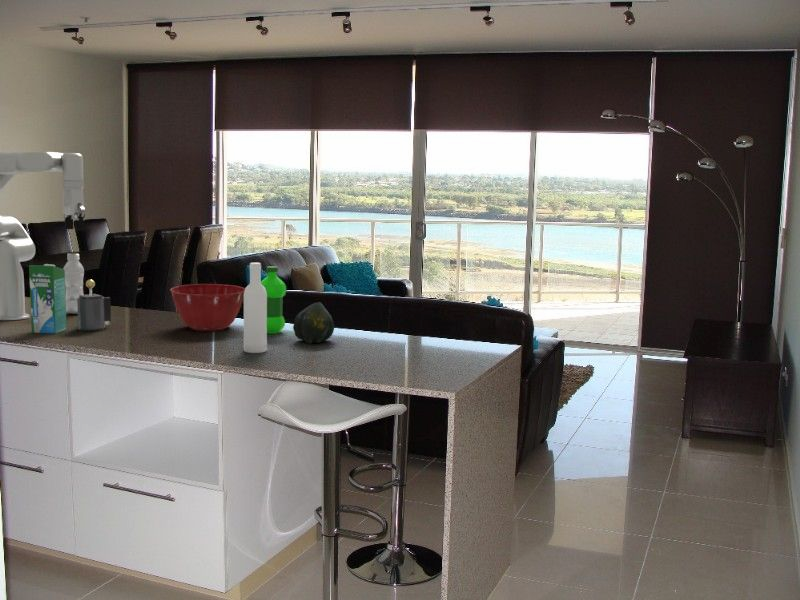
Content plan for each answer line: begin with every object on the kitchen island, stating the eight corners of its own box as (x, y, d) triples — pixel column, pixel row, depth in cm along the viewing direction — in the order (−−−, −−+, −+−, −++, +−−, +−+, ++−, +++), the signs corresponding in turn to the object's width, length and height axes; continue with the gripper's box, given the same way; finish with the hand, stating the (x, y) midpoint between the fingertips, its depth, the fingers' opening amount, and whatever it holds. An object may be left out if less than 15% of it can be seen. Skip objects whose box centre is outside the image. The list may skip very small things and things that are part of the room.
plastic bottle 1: (89, 314, 363) (87, 254, 360) (70, 316, 357) (68, 255, 353) (79, 311, 369) (78, 252, 365) (60, 313, 362) (58, 253, 359)
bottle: (256, 354, 291) (256, 264, 287) (238, 351, 295) (238, 263, 291) (271, 350, 298) (272, 263, 294) (254, 347, 302) (254, 261, 298)
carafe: (74, 328, 330) (73, 295, 328) (104, 325, 338) (103, 292, 336) (85, 332, 323) (84, 297, 321) (115, 328, 331) (115, 295, 330)
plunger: (80, 322, 329) (79, 279, 327) (95, 320, 333) (94, 278, 331) (87, 324, 325) (86, 281, 323) (102, 322, 329) (101, 279, 327)
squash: (286, 330, 306) (315, 298, 306) (285, 324, 320) (312, 294, 321) (316, 356, 308) (345, 325, 309) (314, 350, 323) (341, 320, 323)
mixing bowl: (258, 330, 334) (258, 290, 332) (186, 337, 318) (186, 295, 316) (228, 319, 357) (228, 282, 355) (160, 325, 341) (159, 286, 339)
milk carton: (66, 329, 328) (64, 263, 324) (55, 333, 319) (52, 265, 315) (43, 328, 328) (41, 262, 325) (31, 332, 319) (28, 264, 316)
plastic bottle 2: (253, 333, 328) (253, 267, 325) (266, 329, 338) (266, 264, 334) (278, 335, 325) (278, 268, 322) (289, 331, 335) (290, 266, 332)
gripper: (54, 184, 339) (55, 228, 341) (73, 186, 327) (74, 231, 329) (73, 185, 344) (74, 228, 347) (92, 186, 332) (93, 231, 334)
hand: (74, 230), depth 338 cm, fingers open, 9 cm apart
